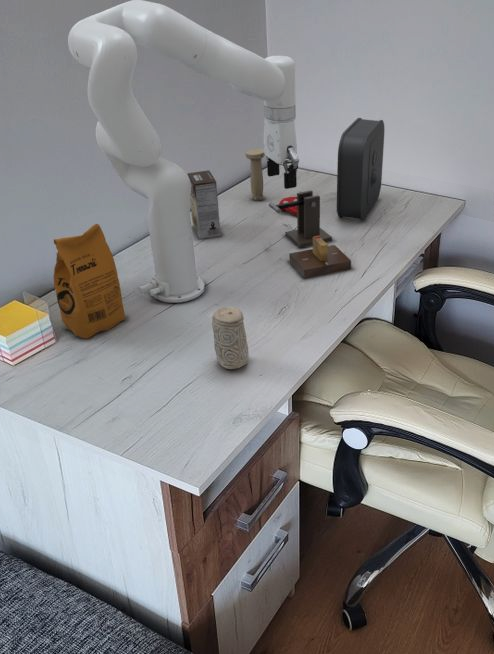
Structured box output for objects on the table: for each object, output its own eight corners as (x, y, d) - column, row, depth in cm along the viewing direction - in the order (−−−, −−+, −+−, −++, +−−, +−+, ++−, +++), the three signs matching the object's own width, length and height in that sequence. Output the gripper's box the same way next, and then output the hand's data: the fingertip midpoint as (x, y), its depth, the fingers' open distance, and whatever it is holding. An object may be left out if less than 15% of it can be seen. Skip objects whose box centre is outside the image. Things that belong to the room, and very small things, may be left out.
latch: (277, 215, 174) (276, 207, 172) (268, 209, 177) (268, 200, 176) (317, 207, 179) (317, 198, 177) (308, 201, 182) (308, 192, 181)
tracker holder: (314, 212, 197) (281, 206, 195) (310, 224, 200) (278, 218, 198) (311, 189, 205) (280, 183, 203) (308, 200, 208) (276, 195, 206)
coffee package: (57, 326, 147) (34, 235, 134) (106, 305, 155) (88, 216, 142) (82, 343, 141) (60, 249, 129) (131, 320, 149) (115, 230, 137)
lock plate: (304, 278, 166) (304, 269, 164) (289, 261, 173) (289, 252, 172) (350, 269, 170) (351, 260, 169) (334, 253, 178) (334, 244, 176)
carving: (231, 349, 140) (227, 300, 133) (256, 363, 136) (253, 313, 129) (208, 362, 136) (203, 312, 129) (233, 377, 132) (229, 326, 125)
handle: (270, 197, 210) (268, 150, 201) (256, 203, 205) (254, 155, 197) (258, 194, 212) (256, 147, 204) (245, 200, 208) (242, 152, 199)
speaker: (358, 193, 214) (362, 113, 199) (385, 196, 211) (390, 116, 197) (336, 223, 194) (338, 137, 180) (364, 227, 192) (368, 140, 178)
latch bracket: (300, 248, 180) (299, 203, 173) (285, 235, 187) (284, 192, 179) (332, 240, 184) (332, 196, 177) (316, 228, 191) (316, 186, 183)
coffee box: (192, 226, 191) (186, 172, 182) (214, 223, 193) (209, 169, 184) (199, 239, 184) (193, 183, 175) (221, 236, 186) (217, 180, 177)
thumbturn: (327, 260, 169) (327, 243, 166) (321, 261, 168) (321, 244, 165) (318, 251, 173) (319, 234, 170) (312, 252, 172) (312, 236, 170)
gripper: (250, 105, 164) (254, 173, 174) (281, 123, 151) (283, 195, 161) (278, 102, 167) (280, 168, 177) (310, 119, 154) (310, 190, 164)
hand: (281, 181), depth 169 cm, fingers open, 9 cm apart
